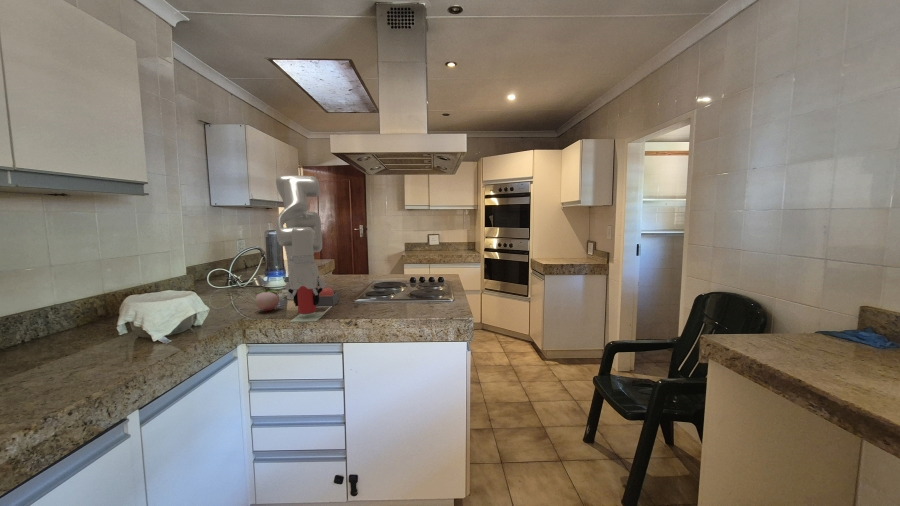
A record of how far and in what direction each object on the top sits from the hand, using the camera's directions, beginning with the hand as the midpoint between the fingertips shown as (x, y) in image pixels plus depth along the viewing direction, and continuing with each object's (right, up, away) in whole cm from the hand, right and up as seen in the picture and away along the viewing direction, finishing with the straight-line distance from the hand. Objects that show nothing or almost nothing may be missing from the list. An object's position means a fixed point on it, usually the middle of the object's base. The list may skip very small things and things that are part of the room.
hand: (307, 304), depth 131 cm
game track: (0, -4, +10) cm, 11 cm away
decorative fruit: (-21, -5, +11) cm, 25 cm away
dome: (0, -2, +21) cm, 21 cm away
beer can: (0, -3, 0) cm, 3 cm away
